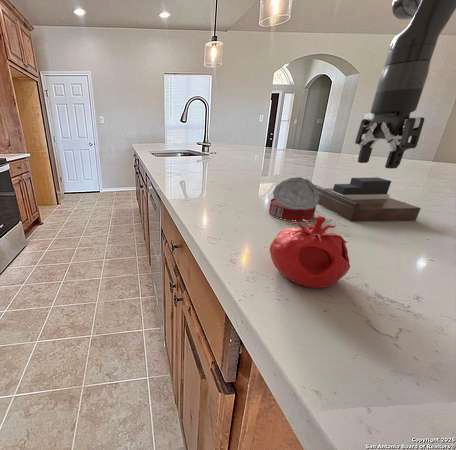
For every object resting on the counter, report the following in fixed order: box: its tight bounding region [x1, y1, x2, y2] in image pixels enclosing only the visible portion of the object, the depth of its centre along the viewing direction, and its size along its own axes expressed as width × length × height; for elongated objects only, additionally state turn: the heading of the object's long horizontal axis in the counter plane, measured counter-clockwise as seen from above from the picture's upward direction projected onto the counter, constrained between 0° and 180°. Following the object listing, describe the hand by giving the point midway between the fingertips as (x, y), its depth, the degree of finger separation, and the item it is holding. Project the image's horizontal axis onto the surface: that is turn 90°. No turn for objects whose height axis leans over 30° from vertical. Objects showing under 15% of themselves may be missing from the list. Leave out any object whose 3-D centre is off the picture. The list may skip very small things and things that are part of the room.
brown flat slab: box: [314, 184, 422, 222], centre depth 62 cm, size 14×18×4 cm
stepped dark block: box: [331, 176, 392, 200], centre depth 61 cm, size 11×5×4 cm, turn 88°
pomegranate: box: [269, 215, 351, 289], centre depth 35 cm, size 10×10×9 cm
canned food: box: [268, 176, 319, 222], centre depth 59 cm, size 11×10×10 cm
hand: (375, 165), depth 59 cm, fingers open, 8 cm apart
